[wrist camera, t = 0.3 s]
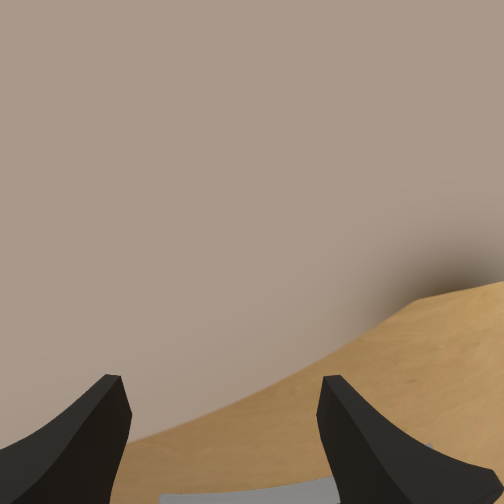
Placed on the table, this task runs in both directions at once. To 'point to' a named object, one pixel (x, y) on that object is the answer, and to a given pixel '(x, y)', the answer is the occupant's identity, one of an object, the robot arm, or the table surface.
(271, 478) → the table surface
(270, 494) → the button board
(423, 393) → the table surface
